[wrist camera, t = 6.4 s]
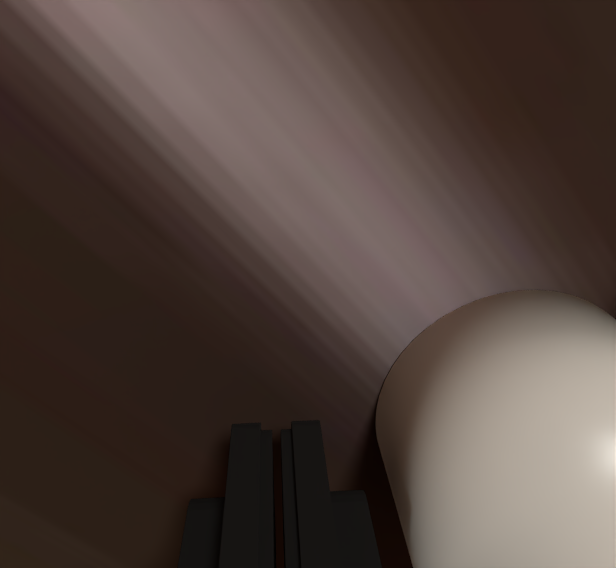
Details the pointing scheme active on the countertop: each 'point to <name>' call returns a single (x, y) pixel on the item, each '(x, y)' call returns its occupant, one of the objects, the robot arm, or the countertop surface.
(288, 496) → the robot arm
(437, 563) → the white domed cylinder
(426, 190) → the countertop surface
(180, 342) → the countertop surface
